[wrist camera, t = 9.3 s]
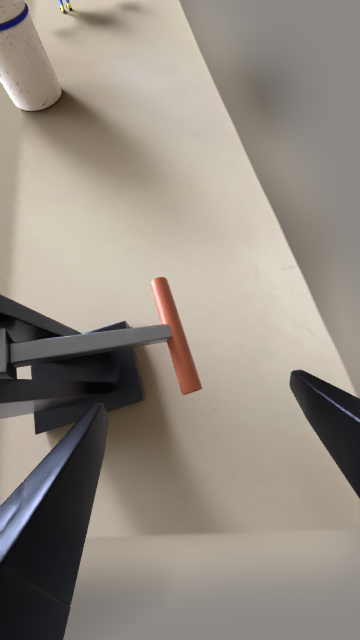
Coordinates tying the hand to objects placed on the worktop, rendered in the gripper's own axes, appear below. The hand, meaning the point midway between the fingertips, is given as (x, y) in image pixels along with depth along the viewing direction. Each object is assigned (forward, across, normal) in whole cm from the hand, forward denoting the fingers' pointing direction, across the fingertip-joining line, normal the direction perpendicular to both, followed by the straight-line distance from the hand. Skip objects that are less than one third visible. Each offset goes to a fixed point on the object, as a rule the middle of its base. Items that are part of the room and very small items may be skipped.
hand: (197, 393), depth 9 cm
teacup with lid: (+45, +20, -30) cm, 58 cm away
